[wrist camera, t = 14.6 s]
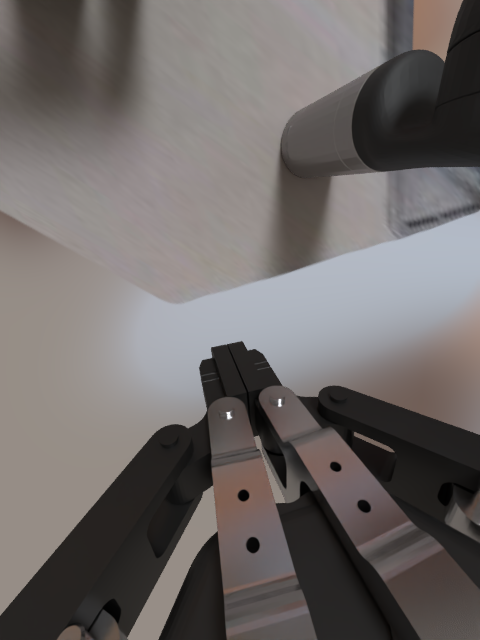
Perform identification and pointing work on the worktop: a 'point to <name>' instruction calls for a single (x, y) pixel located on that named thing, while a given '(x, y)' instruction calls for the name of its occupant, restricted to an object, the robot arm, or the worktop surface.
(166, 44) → the worktop surface
